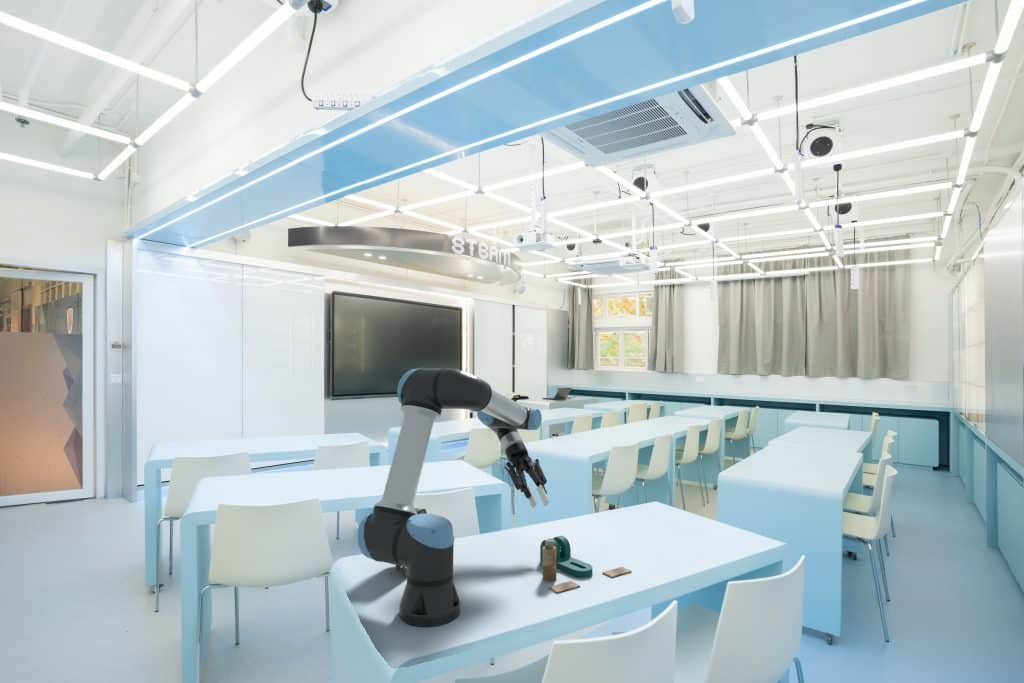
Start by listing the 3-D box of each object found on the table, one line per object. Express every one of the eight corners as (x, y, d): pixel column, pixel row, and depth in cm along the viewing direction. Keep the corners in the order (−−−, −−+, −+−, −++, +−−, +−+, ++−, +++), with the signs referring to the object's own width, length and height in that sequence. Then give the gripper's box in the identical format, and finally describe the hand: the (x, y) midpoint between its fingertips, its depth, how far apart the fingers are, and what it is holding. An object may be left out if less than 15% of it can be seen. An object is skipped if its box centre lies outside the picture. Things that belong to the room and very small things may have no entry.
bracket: (540, 562, 171) (540, 537, 171) (555, 558, 175) (555, 533, 175) (581, 580, 157) (581, 553, 157) (597, 575, 161) (596, 548, 161)
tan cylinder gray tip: (547, 583, 154) (547, 544, 155) (539, 578, 158) (539, 540, 158) (559, 580, 156) (558, 541, 157) (550, 575, 160) (550, 538, 160)
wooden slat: (557, 593, 147) (557, 591, 147) (548, 588, 151) (548, 586, 151) (631, 572, 162) (631, 570, 162) (622, 568, 166) (622, 566, 166)
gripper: (530, 452, 200) (557, 507, 185) (489, 456, 191) (515, 514, 176) (538, 439, 195) (566, 494, 181) (497, 443, 186) (523, 501, 172)
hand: (541, 504), depth 178 cm, fingers open, 4 cm apart
